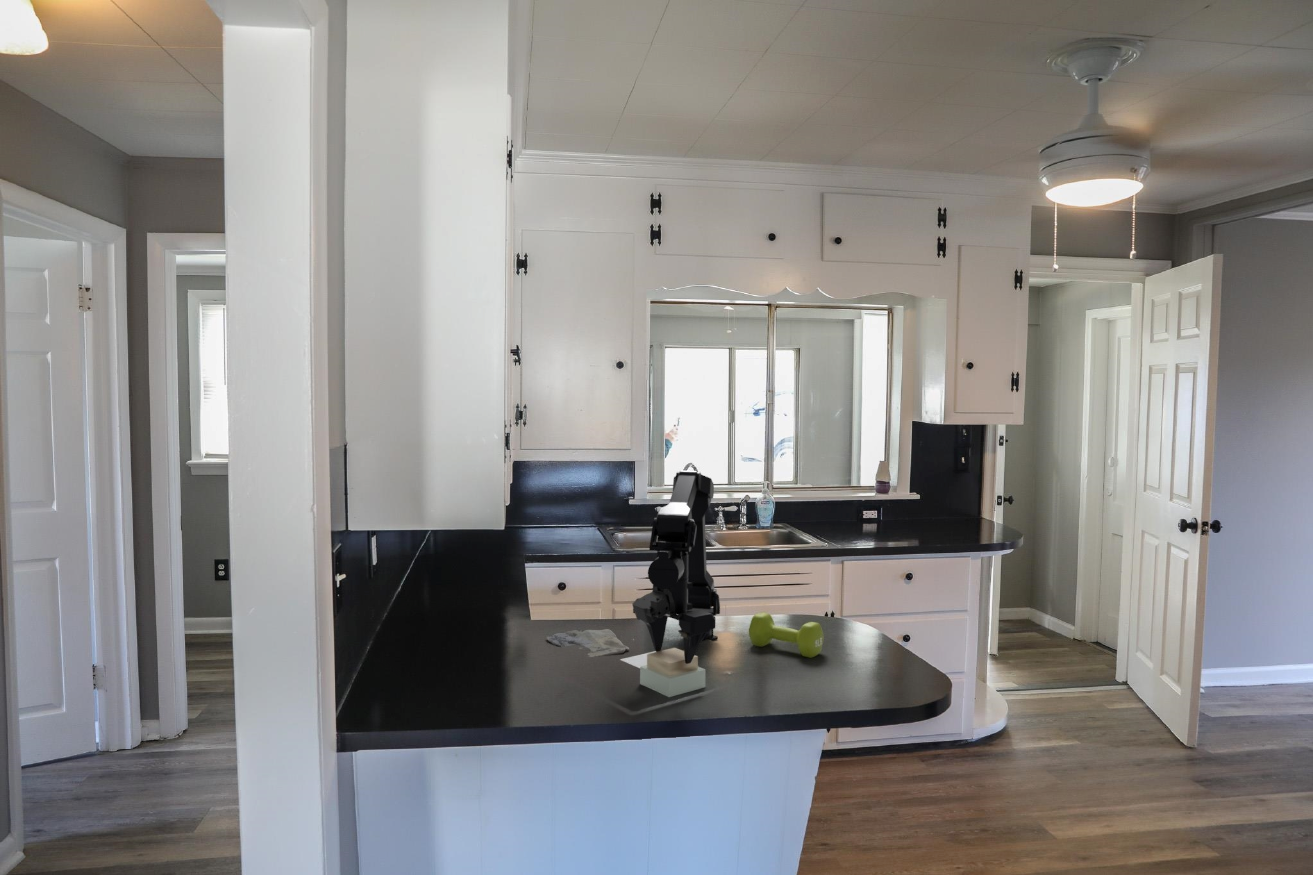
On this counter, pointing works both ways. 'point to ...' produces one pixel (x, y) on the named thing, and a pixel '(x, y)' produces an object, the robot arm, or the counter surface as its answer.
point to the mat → (637, 660)
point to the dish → (672, 681)
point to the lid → (671, 662)
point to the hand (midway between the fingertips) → (672, 657)
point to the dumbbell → (786, 634)
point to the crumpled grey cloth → (590, 641)
